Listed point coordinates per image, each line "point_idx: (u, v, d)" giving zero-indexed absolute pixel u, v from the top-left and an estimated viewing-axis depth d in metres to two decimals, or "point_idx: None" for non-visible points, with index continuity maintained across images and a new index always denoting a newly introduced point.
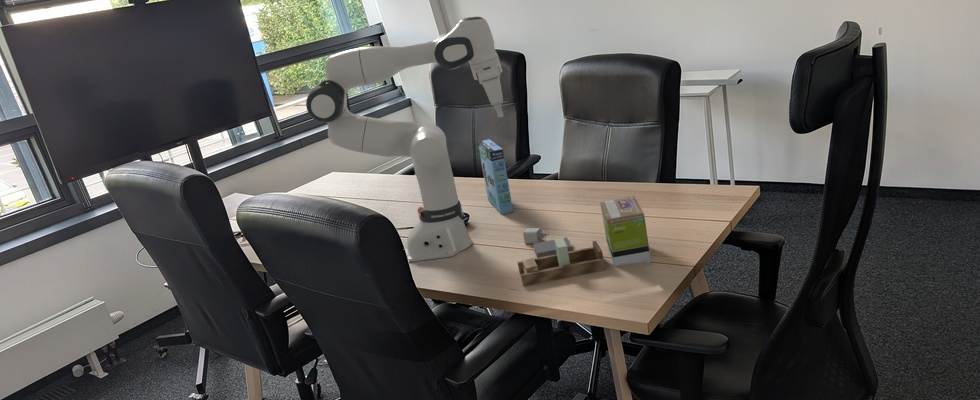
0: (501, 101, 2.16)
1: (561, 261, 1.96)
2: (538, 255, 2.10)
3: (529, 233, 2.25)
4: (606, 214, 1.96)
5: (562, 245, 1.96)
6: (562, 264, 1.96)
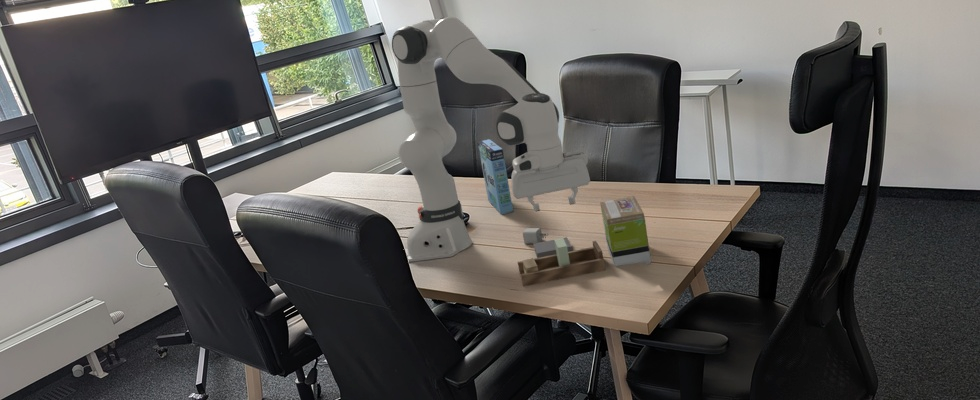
0: (515, 197, 1.92)
1: (561, 261, 1.96)
2: (538, 255, 2.10)
3: (529, 233, 2.25)
4: (606, 214, 1.96)
5: (562, 245, 1.96)
6: (562, 264, 1.96)
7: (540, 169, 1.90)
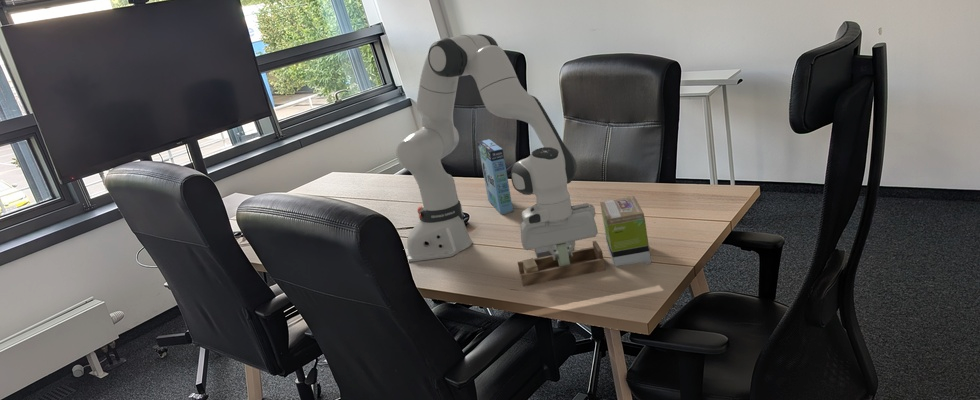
0: (524, 248, 1.96)
1: (561, 261, 1.96)
2: (538, 255, 2.10)
3: None
4: (606, 214, 1.96)
5: (562, 245, 1.96)
6: (562, 264, 1.96)
7: (549, 222, 1.94)
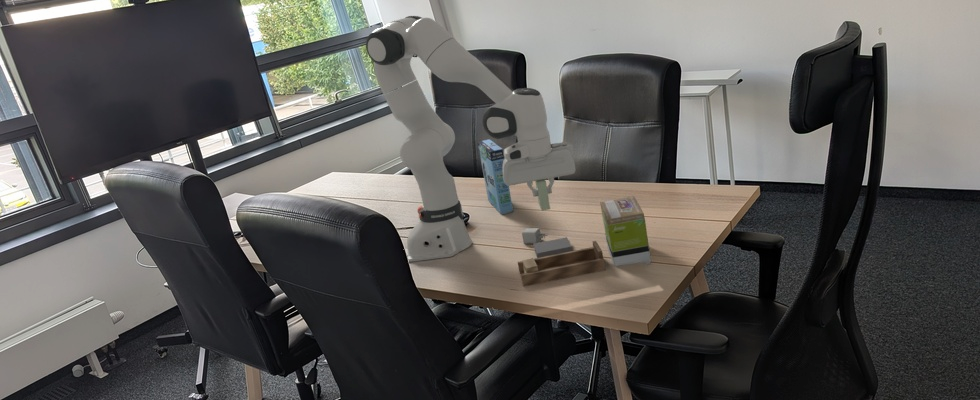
0: None
1: (540, 196, 2.06)
2: (538, 255, 2.10)
3: (528, 233, 2.26)
4: (606, 214, 1.96)
5: (542, 181, 2.06)
6: (541, 199, 2.06)
7: (529, 158, 2.04)
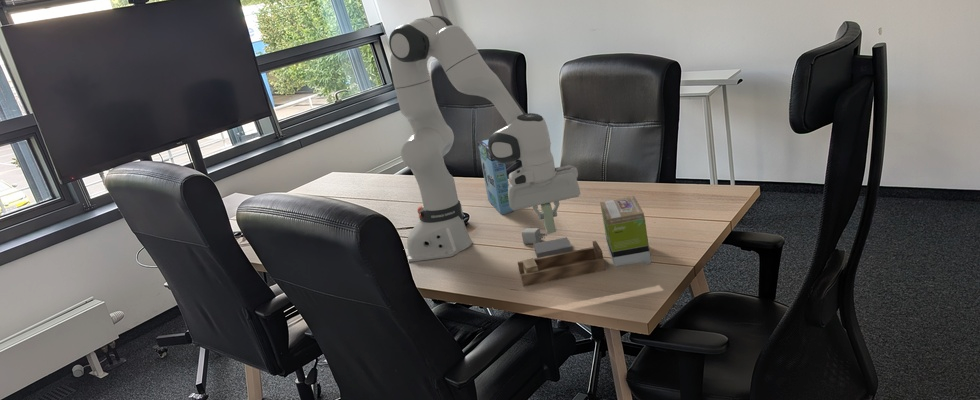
0: (511, 208, 2.09)
1: (546, 220, 2.08)
2: (538, 255, 2.10)
3: (528, 233, 2.26)
4: (606, 214, 1.96)
5: (547, 204, 2.08)
6: (547, 223, 2.08)
7: (534, 183, 2.06)
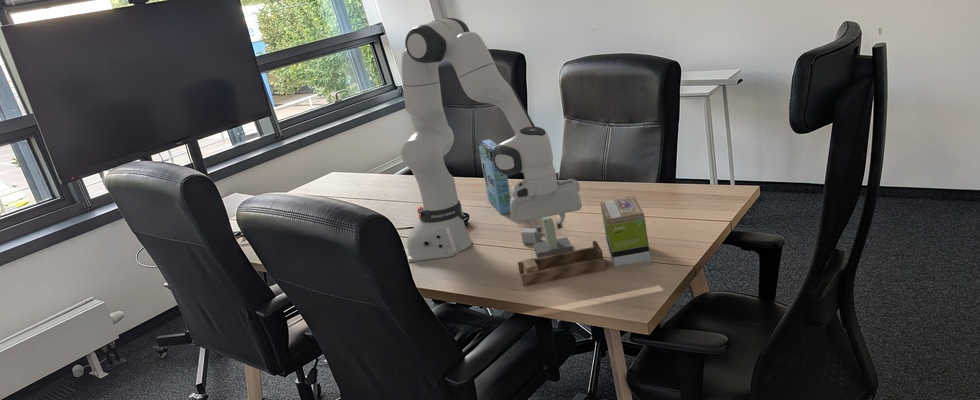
0: (513, 221, 2.10)
1: (548, 236, 2.10)
2: (538, 255, 2.10)
3: (527, 233, 2.26)
4: (606, 214, 1.96)
5: (549, 221, 2.10)
6: (549, 239, 2.10)
7: (536, 196, 2.07)
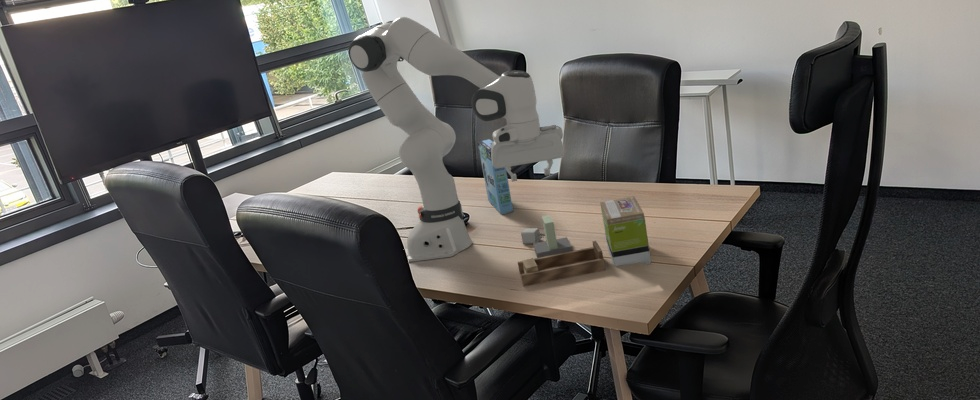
0: (494, 167, 2.05)
1: (548, 236, 2.10)
2: (538, 255, 2.10)
3: (527, 233, 2.26)
4: (606, 214, 1.96)
5: (549, 221, 2.10)
6: (549, 239, 2.10)
7: (518, 141, 2.03)
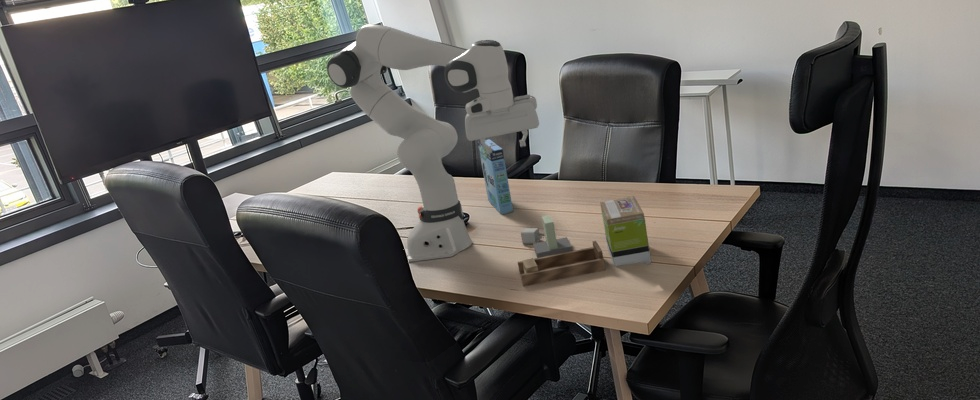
0: (468, 139, 2.03)
1: (548, 236, 2.10)
2: (538, 255, 2.10)
3: (527, 233, 2.26)
4: (606, 214, 1.96)
5: (549, 221, 2.10)
6: (549, 239, 2.10)
7: (491, 112, 2.00)
